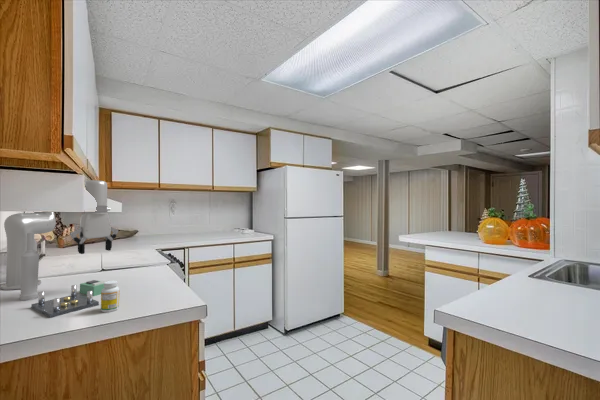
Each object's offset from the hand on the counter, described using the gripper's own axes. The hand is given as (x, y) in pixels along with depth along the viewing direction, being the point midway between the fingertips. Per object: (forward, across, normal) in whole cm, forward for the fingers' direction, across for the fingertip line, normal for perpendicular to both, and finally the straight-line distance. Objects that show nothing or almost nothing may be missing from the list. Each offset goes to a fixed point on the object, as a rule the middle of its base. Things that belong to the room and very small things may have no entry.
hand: (95, 251), depth 118 cm
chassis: (+17, +13, +9) cm, 23 cm away
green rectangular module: (+17, 0, 0) cm, 17 cm away
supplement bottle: (+17, +6, +25) cm, 31 cm away
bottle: (+17, +17, -12) cm, 27 cm away
